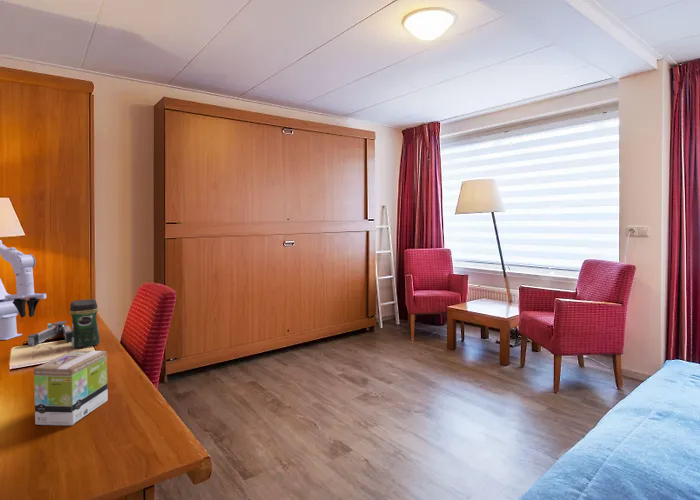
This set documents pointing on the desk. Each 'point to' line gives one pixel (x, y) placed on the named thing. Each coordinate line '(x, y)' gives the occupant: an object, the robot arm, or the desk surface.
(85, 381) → the tea box
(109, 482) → the desk surface
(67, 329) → the tongs base
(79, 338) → the coffee jar
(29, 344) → the tong arm
